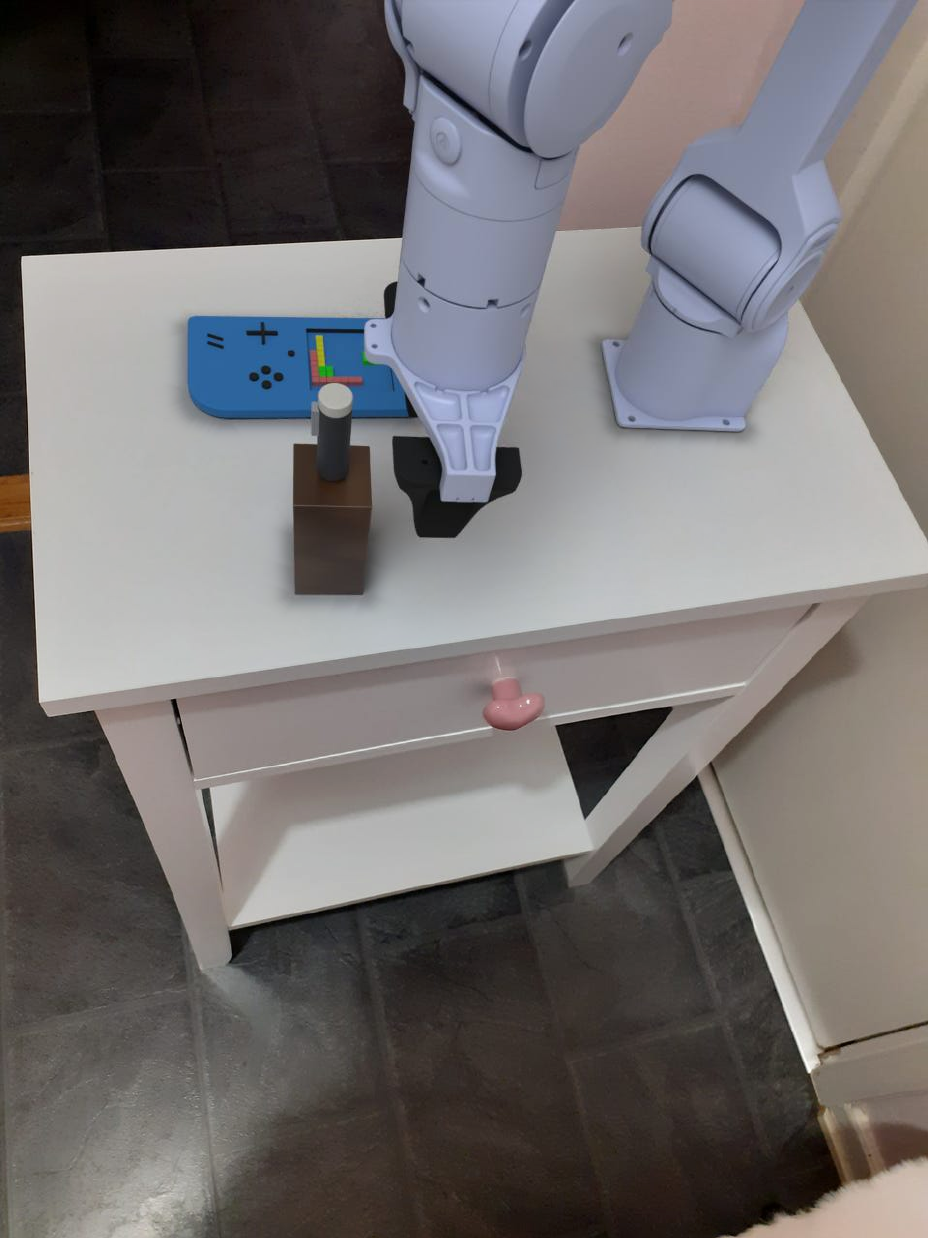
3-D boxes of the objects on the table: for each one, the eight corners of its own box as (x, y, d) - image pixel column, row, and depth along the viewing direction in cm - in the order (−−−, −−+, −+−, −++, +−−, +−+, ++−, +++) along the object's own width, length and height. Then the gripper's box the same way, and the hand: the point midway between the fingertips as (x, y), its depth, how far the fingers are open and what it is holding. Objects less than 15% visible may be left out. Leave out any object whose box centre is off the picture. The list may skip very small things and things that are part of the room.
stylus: (347, 462, 48) (352, 382, 43) (348, 487, 48) (353, 409, 42) (310, 461, 48) (311, 380, 43) (310, 486, 47) (311, 407, 42)
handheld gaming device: (187, 311, 62) (408, 314, 65) (189, 324, 63) (407, 326, 66) (186, 407, 58) (422, 405, 61) (188, 418, 59) (420, 417, 62)
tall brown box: (361, 538, 57) (369, 445, 49) (362, 595, 55) (372, 507, 47) (294, 537, 56) (293, 442, 48) (294, 594, 54) (292, 505, 46)
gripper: (365, 131, 39) (351, 362, 51) (378, 394, 32) (358, 590, 44) (527, 146, 40) (477, 368, 52) (573, 402, 33) (503, 591, 45)
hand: (431, 470), depth 48 cm, fingers open, 7 cm apart
